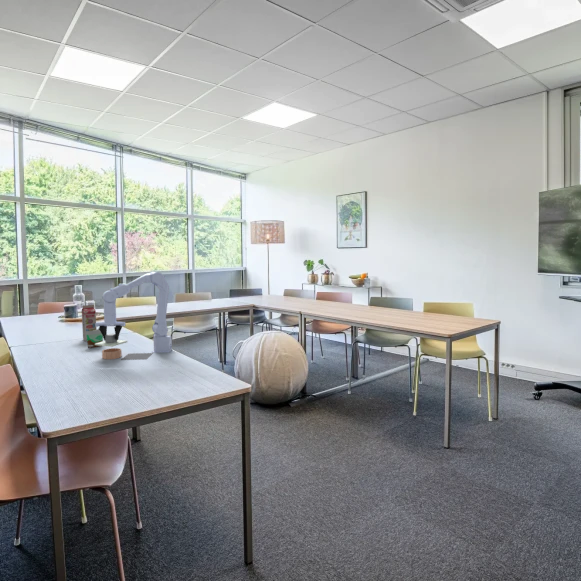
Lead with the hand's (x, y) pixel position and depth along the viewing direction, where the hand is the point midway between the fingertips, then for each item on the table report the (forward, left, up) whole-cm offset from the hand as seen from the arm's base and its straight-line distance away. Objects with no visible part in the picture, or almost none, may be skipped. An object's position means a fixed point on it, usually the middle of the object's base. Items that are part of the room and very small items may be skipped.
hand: (111, 340), depth 214 cm
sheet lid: (0, 0, -2) cm, 2 cm away
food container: (+18, -28, -10) cm, 35 cm away
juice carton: (+30, -46, -10) cm, 56 cm away
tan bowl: (0, 0, -9) cm, 9 cm away
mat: (-13, 0, -9) cm, 16 cm away
